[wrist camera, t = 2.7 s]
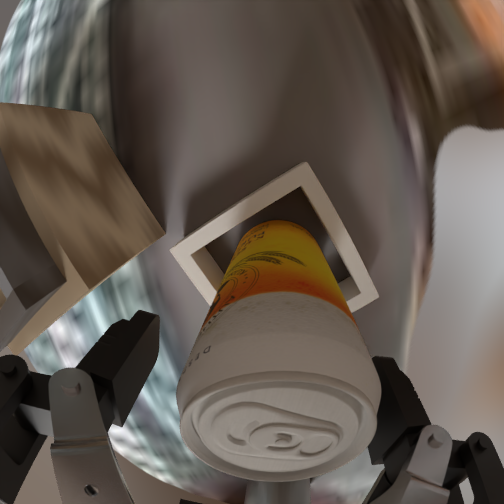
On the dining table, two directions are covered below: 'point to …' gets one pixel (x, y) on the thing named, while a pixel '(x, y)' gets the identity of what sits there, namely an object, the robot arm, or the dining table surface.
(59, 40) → the dining table surface
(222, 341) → the beer can
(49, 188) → the stand
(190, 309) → the dining table surface
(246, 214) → the low collar
